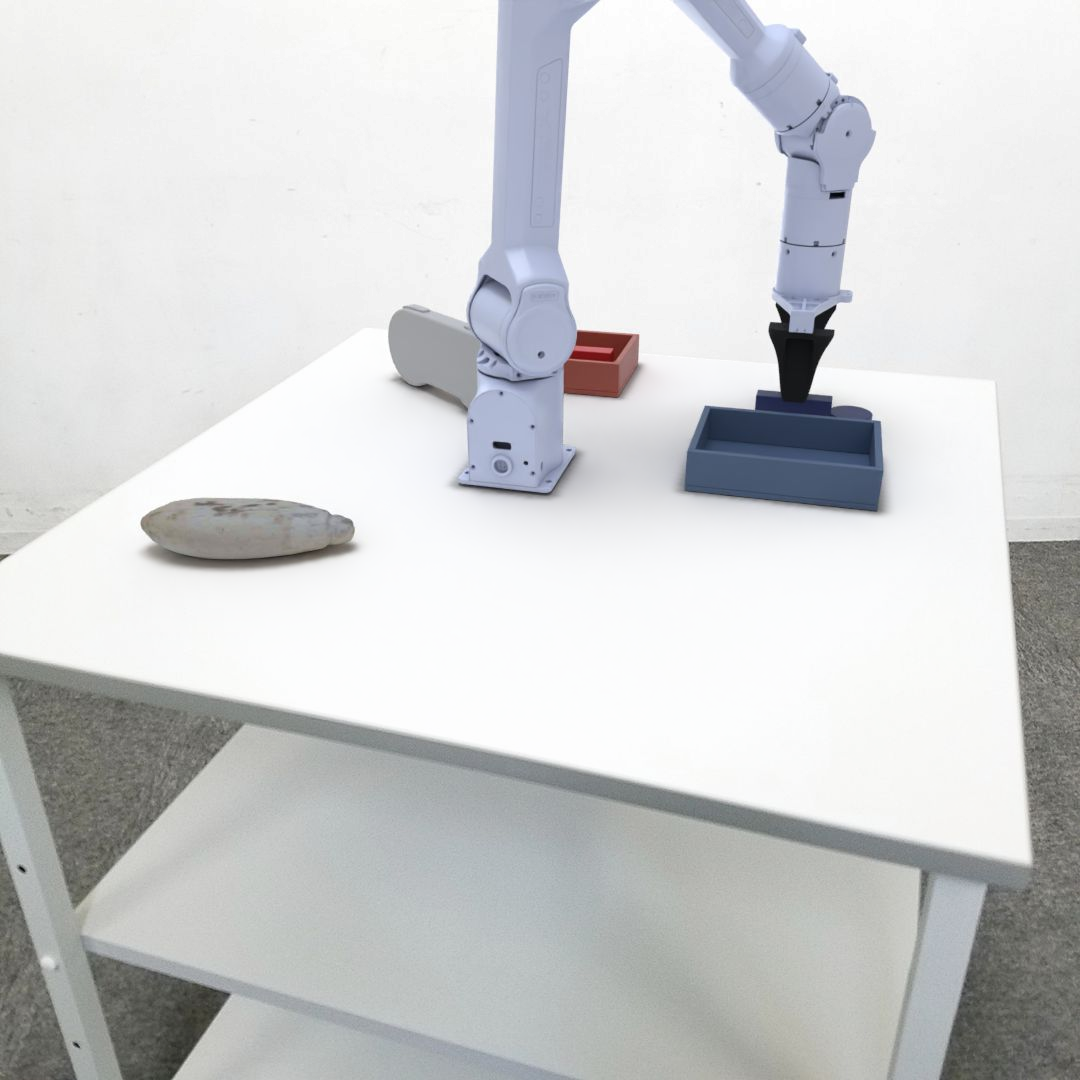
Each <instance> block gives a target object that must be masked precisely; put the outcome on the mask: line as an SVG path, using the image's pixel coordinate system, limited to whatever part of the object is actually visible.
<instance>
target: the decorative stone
mask: <svg viewBox="0 0 1080 1080" xmlns="http://www.w3.org/2000/svg"><path fill="white" fill-rule="evenodd" d="M140 527H141V530H142V531H143V532H144V533H145V535H146V536H147V537H148V538H149V539H151V541H152V542H154V543H155V544H157V545H158V546H160V547H162V548H164V549H165V550H168V551H171V552H173V553H176V554H180V555H184V556H189V557H194V558H201V559H211V560H250V559H263V558H271V557H281V556H290V555H295V554H300V553H301V554H302V553H306V552H311V551H317V550H321V549H325V548H326V547H328V546H329V545H330V546H337V545H342V544H345V543H348V542H351V541H352V540H353V538H354V535H355V532H356V526H355V525H354V521H353V520H352V519H351V518H348V517H345V516H344V515H341V514H331V513H330V511H328V510H327V509H323V508H320V507H317V506H314V505H310V504H306V503H301V502H296V501H291V500H284V499H275V498H259V497H258V498H256V497H255V498H254V497H252V498H249V497H248V498H247V497H194V498H187V499H179V500H173V501H170V502H168V503H166V504H163V505H162V506H159V507H156V508H155V509H153V510H151V511H149V512H147V514H145V515H144V516H142V518H141V520H140Z"/></svg>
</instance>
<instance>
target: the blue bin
mask: <svg viewBox="0 0 1080 1080" xmlns="http://www.w3.org/2000/svg"><path fill="white" fill-rule="evenodd" d="M703 406H704V407H703V409H702V412H701V414H700V416H699V420H698V422H697V425H696V427H695V430H694V432H693V435H692V438H691V440H690V442H689V445H688V448H687V451H686V460H685V475H684V491H687V492H696V493H707V494H715V495H726V496H733V497H734V496H735V497H742V498H743V497H744V498H752V499H760V500H761V499H762V500H770V501H771V500H772V501H781V502H791V503H798V504H807V505H817V506H825V507H837V508H846V509H854V510H864V511H865V510H866V511H871V512H872V511H873V512H877V511H878V508H879V501H880V494H881V489H882V488H881V487H882V483H883V478H884V477H883V476H884V471H885V470H884V456H883V455H884V454H883V435H882V434H883V433H882V421H881V420H875V419H872V420H865V419H853V418H842V417H831V416H819V415H808V414H796V413H785V412H774V411H762V410H755V409H751V408H737V407H727V406H715V405H703Z"/></svg>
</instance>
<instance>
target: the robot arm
mask: <svg viewBox="0 0 1080 1080" xmlns="http://www.w3.org/2000/svg"><path fill="white" fill-rule="evenodd" d="M600 1H601V0H497V29H496V30H497V31H496V33H497V34H496V35H497V36H496V39H497V40H496V65H495V66H496V67H495V68H496V69H495V97H494V98H495V99H494V101H495V102H494V133H493V135H494V136H493V137H494V138H493V167H492V169H493V170H492V205H491V206H492V207H491V237H490V238H491V239H490V244H489V246H488V248H487V249H486V251H485V252H484V253H483V254H482V256H481V257H480V258H479V260H478V263H477V270H478V271H477V277H476V282H475V285H474V288H473V289H472V292H471V293H470V295H469V297H468V300H467V303H466V309H465V310H466V311H465V312H466V313H465V314H466V315H465V317H466V323H468V326H469V328H470V330H471V332H472V334H473V335H474V336H475V337H476V338H477V339H478V340H479V341H480V349H479V352H478V355H477V394H476V396H475V398H474V399H473V401H472V402H471V404H470V406H469V409H468V408H467V413H466V429H467V430H466V435H467V436H466V437H467V461H468V462H467V466H466V467H465V468H464V470H462V472H461V474H459V476H458V477H457V481H458V483H459V484H461V485H470V486H479V487H486V488H487V487H488V488H497V489H506V490H512V491H513V490H514V491H522V492H523V491H524V492H531V493H540V494H541V493H542V494H548V493H551V492H552V491H553V489H554V488H555V486H556V484H557V483H558V481H559V480H560V478H561V477H562V475H563V473H564V471H565V470H566V469H567V467H568V466H569V464H570V463H571V461H572V459H573V458H574V456H575V454H576V452H577V448H576V447H575V446H572V445H564V394H565V393H564V367H563V366H564V363H565V362H566V361H567V360H568V358H569V357H570V355H571V354H572V352H573V349H574V347H575V343H576V339H577V330H578V328H577V326H578V325H577V323H576V318H575V317H574V314H573V312H572V310H571V306H570V301H569V289H570V283H569V279H568V276H567V272H566V269H565V267H564V264H563V261H562V258H561V254H560V252H559V245H560V244H559V243H560V242H559V241H560V226H561V224H560V223H561V208H562V193H563V192H562V191H563V173H564V156H565V140H566V139H565V138H566V137H565V136H566V119H567V117H566V116H567V105H568V103H567V102H568V101H567V100H568V85H569V84H568V83H569V67H570V49H571V33H572V32H571V31H572V29H573V27H574V25H575V24H576V23H577V22H578V21H579V20H580V19H582V18H583V17H584V16H585V15H586V14H587V13H588V12H589V11H590V10H591V9H592V8H593V7H595V6H596V5H597V4H598V3H599V2H600ZM670 1H671V2H672V3H673V4H674V5H675V6H676V7H677V8H678V9H679V10H680V11H681V12H682V13H683V14H684V15H685V16H686V17H688V19H690V21H691V22H693V23H694V25H696V26H697V27H698V28H699V30H701V32H703V34H705V35H706V36H707V38H709V39H710V40H711V41H712V42H713V43H714V44H715V45H716V46H717V47H718V48H719V49H720V50H721V51H722V52H723V53H724V54H725V55H726V56H727V57H728V58H729V61H730V62H729V82H730V83H731V85H732V86H733V87H734V88H735V89H736V90H737V91H738V93H739V94H740V95H741V96H742V97H743V98H744V99H745V100H746V101H747V102H748V103H749V104H750V106H751V107H752V108H753V109H754V110H755V111H756V112H757V113H758V114H759V115H760V117H762V119H763V120H764V121H765V122H766V123H767V124H768V125H769V126H770V127H771V128H772V129H773V131H774V132H773V133H774V143H775V146H776V149H777V151H778V153H779V154H781V155H784V156H785V157H786V158H787V159H786V170H785V180H784V189H783V190H784V191H783V201H782V211H781V218H780V219H781V222H780V232H779V240H778V251H777V261H776V268H775V269H776V270H775V279H774V280H775V281H774V286H773V288H772V289H771V299H772V300H773V301H774V302H775V304H774V305H775V309H776V310H777V313H778V316H779V319H780V321H779V322H778V321H769V323H768V331H767V333H768V337H769V339H770V341H771V343H772V346H773V348H774V349H773V350H774V352H775V355H776V360H777V365H778V367H777V369H778V379H779V380H778V381H779V391H780V392H781V398H782V401H784V402H796V403H805V401H806V399H807V397H808V394H810V392H811V388H812V385H813V383H814V382H813V381H814V378H815V375H816V374H815V373H816V371H817V368H818V365H819V363H820V361H821V358H822V356H823V355H824V352H825V351H826V349H827V348H828V346H829V345H830V343H831V342H832V340H833V339H834V337H835V333H836V331H835V329H830V328H826V327H827V325H828V323H829V322H830V319H831V318H832V316H833V314H834V313H835V312H836V310H837V307H838V304H840V303H845V304H847V303H849V304H850V303H852V302H853V296H854V292H853V291H852V290H849V289H841V283H842V276H843V275H842V274H843V267H844V261H845V260H844V258H845V252H846V251H845V250H846V242H847V238H848V237H847V236H848V229H849V220H850V213H851V205H852V197H853V191H854V190H853V189H854V188H855V184H856V183H858V182H859V174H860V170H861V166H862V163H863V162H864V161H865V159H866V158H867V156H868V155H869V153H870V152H871V150H872V148H873V145H874V143H875V141H876V136H877V130H874V129H873V128H872V126H873V125H872V119H871V116H870V114H869V111H868V109H867V107H866V105H865V103H864V102H863V101H862V100H861V99H860V98H858V97H855V96H853V95H849V94H848V95H847V94H841V92H840V89H839V86H838V85H837V84H838V83H839V79H838V78H837V76H836V75H835V74H834V72H831V71H830V72H828V71H825V70H824V69H823V68H822V66H821V65H820V64H819V63H818V62H817V60H816V59H815V58H814V57H813V56H812V55H811V53H810V52H809V51H808V50H807V49H806V47H805V46H804V44H805V43H806V41H807V37H806V35H804V33H803V32H802V31H801V29H800V28H798V27H797V28H796V27H795V28H794V27H793V28H791V27H788V26H787V25H785V24H781V23H772V24H767V25H764V23H763V21H762V20H761V19H760V17H758V15H757V14H756V13H755V12H754V10H753V8H752V7H751V6H750V4H749V3H748V2H747V0H670Z"/></svg>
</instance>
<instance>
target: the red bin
mask: <svg viewBox="0 0 1080 1080" xmlns="http://www.w3.org/2000/svg"><path fill="white" fill-rule="evenodd" d="M575 346H587V347H600V348H613V349H614V362H604V361H591V360H579V359H568V360H567V361H566V362H565V363H564V366H563V367H564V394H577V395H588V396H598V397H610V398H619V396H621V393H622V392H623V390H624V388H625V387H626V385H627V384H628V382H629V380H630V379H631V377H632V375H633V374H634V373H635V370H636V369H637V368H638V366H639V351H640V334H639V333H626V332H614V331H600V330H587V329H577V339H576V343H575Z"/></svg>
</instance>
